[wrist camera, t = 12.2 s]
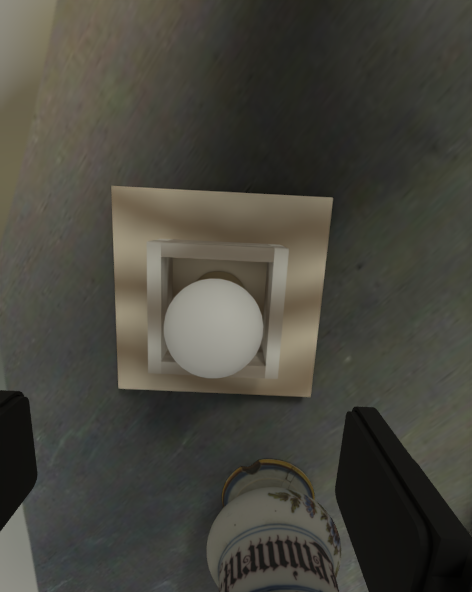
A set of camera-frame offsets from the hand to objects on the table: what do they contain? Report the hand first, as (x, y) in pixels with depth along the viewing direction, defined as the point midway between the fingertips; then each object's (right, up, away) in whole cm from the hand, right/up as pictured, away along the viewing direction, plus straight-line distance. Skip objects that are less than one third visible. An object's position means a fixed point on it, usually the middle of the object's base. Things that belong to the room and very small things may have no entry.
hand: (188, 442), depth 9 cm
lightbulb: (0, +4, +18) cm, 19 cm away
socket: (0, +4, +20) cm, 21 cm away
